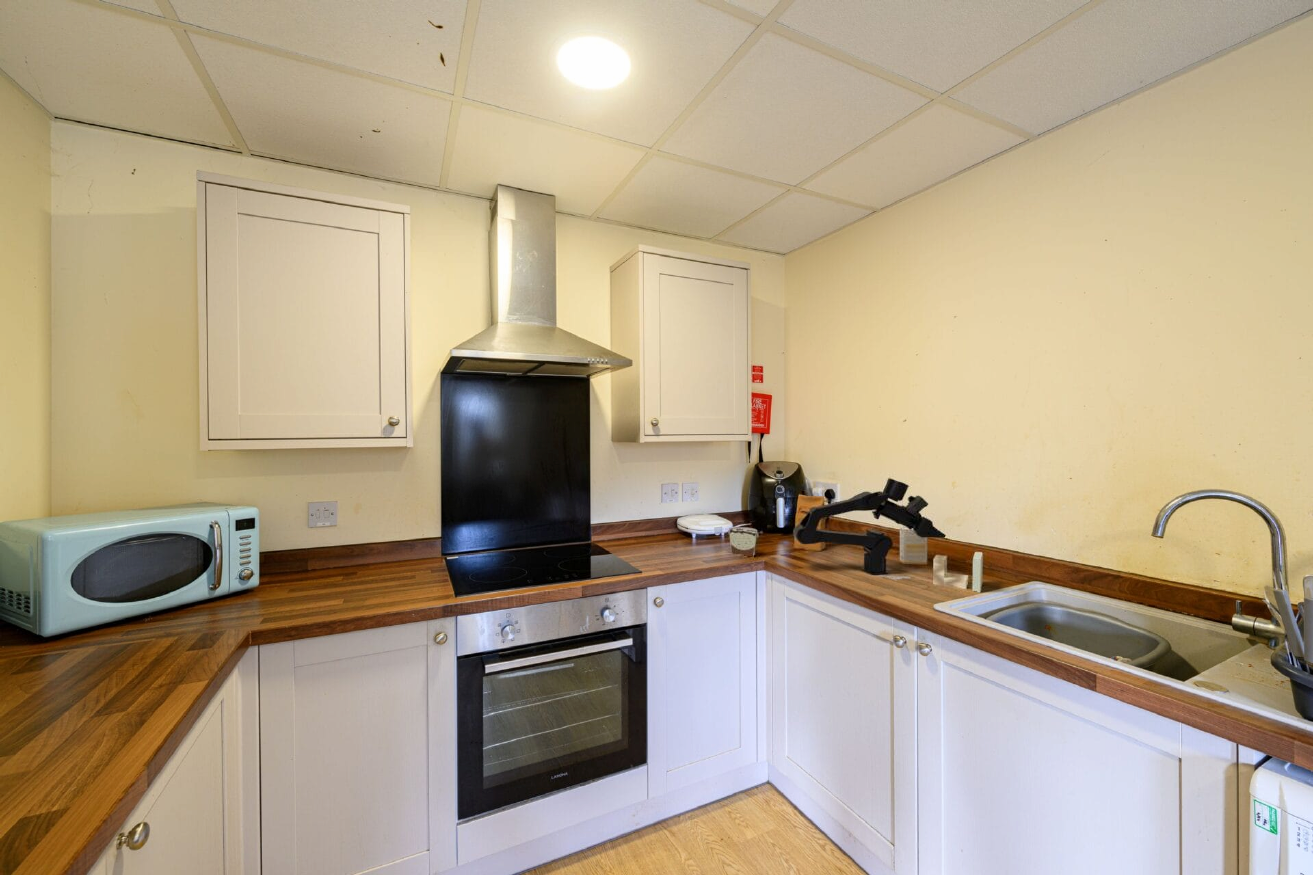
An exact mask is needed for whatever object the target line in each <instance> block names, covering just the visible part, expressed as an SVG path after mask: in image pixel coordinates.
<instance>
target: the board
mask: <svg viewBox="0 0 1313 875" xmlns="http://www.w3.org/2000/svg"><path fill="white" fill-rule="evenodd" d="M983 558H984V556H983V552H981V551H975V552H974V554H973V557H972V591H971V592H973V591H977V592H976V593H981V591H982V586H983V562H984V560H983Z"/></svg>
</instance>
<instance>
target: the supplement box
mask: <svg viewBox="0 0 1313 875" xmlns="http://www.w3.org/2000/svg"><path fill="white" fill-rule="evenodd" d="M899 562H900V563H902V564H903V565H922V566H923V565H925V566H927V565H928V537H925V538H922V537H919V536H917V535H916V534H915V533H914V531H913V528H912V529H908V528H907V527H906V526H899Z"/></svg>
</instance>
